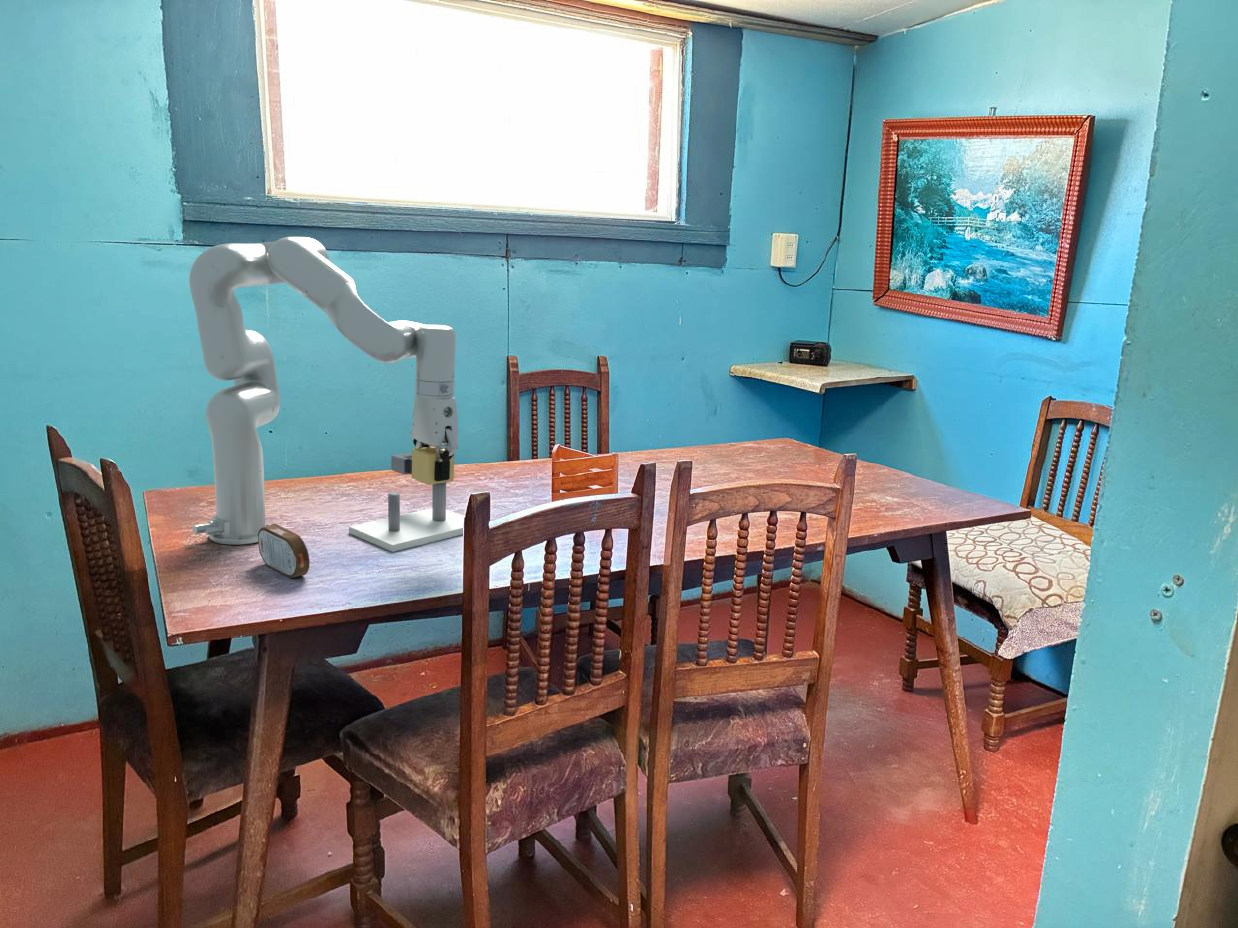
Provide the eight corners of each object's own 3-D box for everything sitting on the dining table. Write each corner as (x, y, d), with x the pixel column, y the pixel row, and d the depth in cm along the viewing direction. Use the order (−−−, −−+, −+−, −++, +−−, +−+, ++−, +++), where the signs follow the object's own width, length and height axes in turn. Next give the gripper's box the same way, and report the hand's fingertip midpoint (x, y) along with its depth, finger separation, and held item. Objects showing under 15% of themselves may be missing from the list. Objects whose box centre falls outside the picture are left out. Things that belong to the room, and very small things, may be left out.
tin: (311, 580, 175) (310, 537, 173) (296, 584, 173) (294, 541, 171) (270, 559, 185) (269, 518, 183) (255, 562, 183) (253, 521, 181)
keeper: (453, 481, 209) (453, 466, 208) (435, 485, 205) (435, 469, 204) (409, 467, 219) (409, 452, 219) (391, 470, 216) (391, 455, 215)
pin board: (392, 551, 192) (392, 505, 190) (348, 532, 203) (348, 488, 200) (482, 529, 210) (483, 486, 208) (438, 512, 220) (438, 471, 218)
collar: (453, 481, 189) (454, 452, 188) (428, 484, 185) (428, 455, 184) (436, 474, 193) (437, 446, 192) (411, 477, 189) (412, 449, 188)
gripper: (476, 394, 182) (472, 484, 186) (426, 380, 193) (424, 464, 198) (443, 397, 176) (440, 489, 181) (394, 382, 188) (393, 469, 192)
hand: (432, 475), depth 189 cm, fingers closed on collar, 6 cm apart
